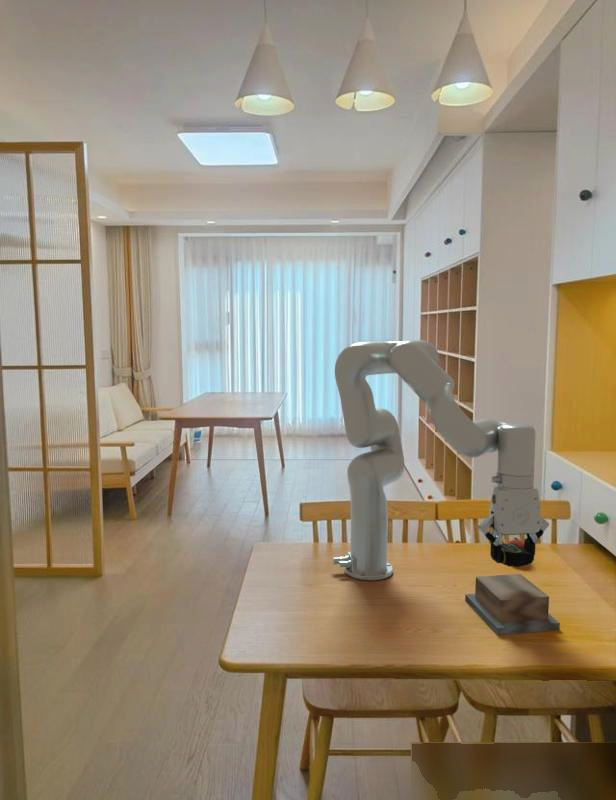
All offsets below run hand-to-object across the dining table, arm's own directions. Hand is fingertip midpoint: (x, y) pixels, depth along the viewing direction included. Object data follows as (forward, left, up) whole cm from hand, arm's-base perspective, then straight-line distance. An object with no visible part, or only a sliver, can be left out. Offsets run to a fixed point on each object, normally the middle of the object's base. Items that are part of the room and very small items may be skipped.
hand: (512, 559), depth 129 cm
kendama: (+17, +35, -13) cm, 41 cm away
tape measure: (+1, +1, -1) cm, 2 cm away
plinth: (0, 0, -13) cm, 13 cm away
